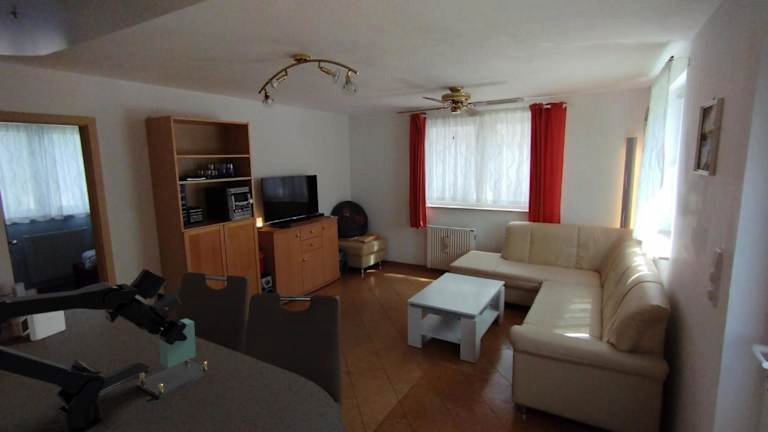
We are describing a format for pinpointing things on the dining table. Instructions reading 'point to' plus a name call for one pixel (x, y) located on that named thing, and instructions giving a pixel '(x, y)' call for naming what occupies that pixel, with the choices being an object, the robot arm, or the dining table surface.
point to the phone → (123, 376)
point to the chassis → (173, 378)
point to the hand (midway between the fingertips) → (181, 337)
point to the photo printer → (45, 324)
